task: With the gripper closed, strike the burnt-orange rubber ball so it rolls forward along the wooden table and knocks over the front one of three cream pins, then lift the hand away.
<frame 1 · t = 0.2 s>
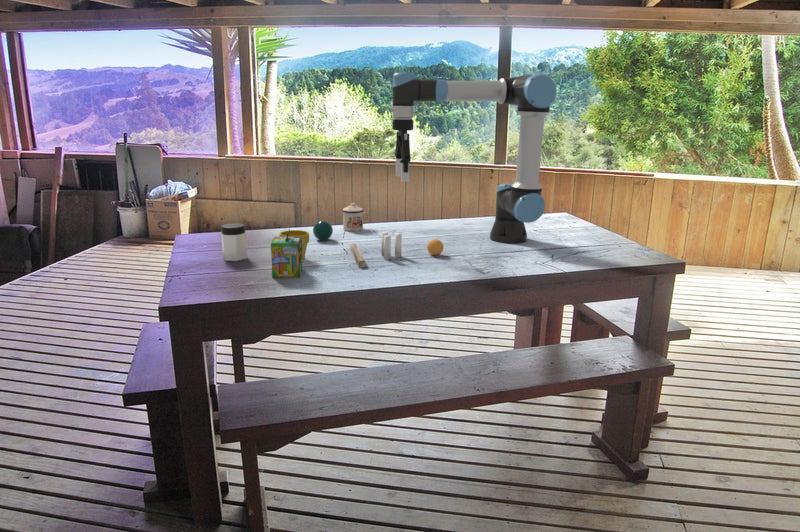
hand: (402, 179, 207), 27 cm above the table, tool pointing down, fingers open, 13 cm apart
pin 1: (384, 255, 210), on the table
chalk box: (287, 274, 186), on the table
plant pot: (295, 260, 203), on the table
ball: (435, 247, 210), on the table
teacup with lid: (356, 229, 251), on the table
jar: (235, 258, 203), on the table
sphere: (323, 240, 231), on the table
back wall: (357, 258, 205), on the table
pin 2: (387, 258, 205), on the table
front pin: (398, 256, 208), on the table
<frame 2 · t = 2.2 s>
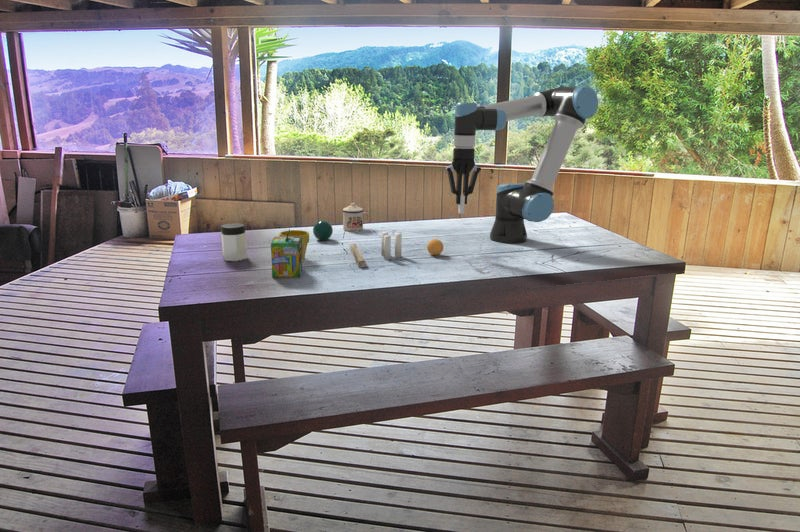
hand: (460, 213, 208), 16 cm above the table, tool pointing down, fingers closed
nothing on the table moved.
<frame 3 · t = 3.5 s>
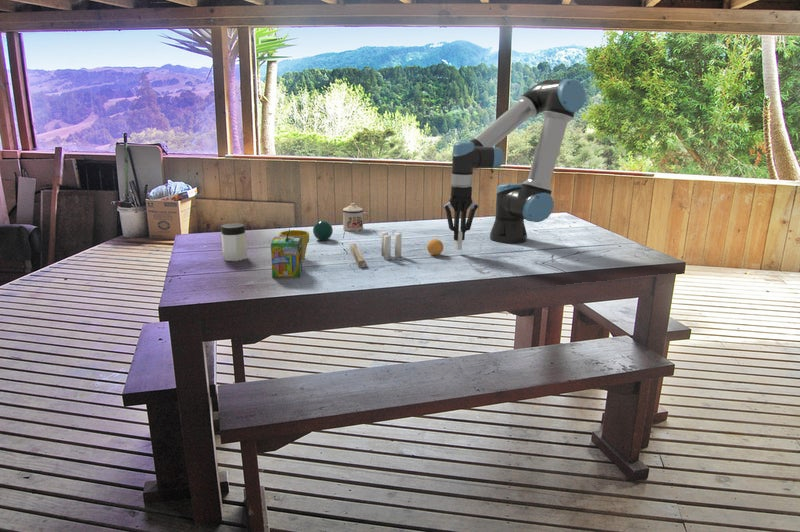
hand: (458, 248, 212), 2 cm above the table, tool pointing down, fingers closed
nothing on the table moved.
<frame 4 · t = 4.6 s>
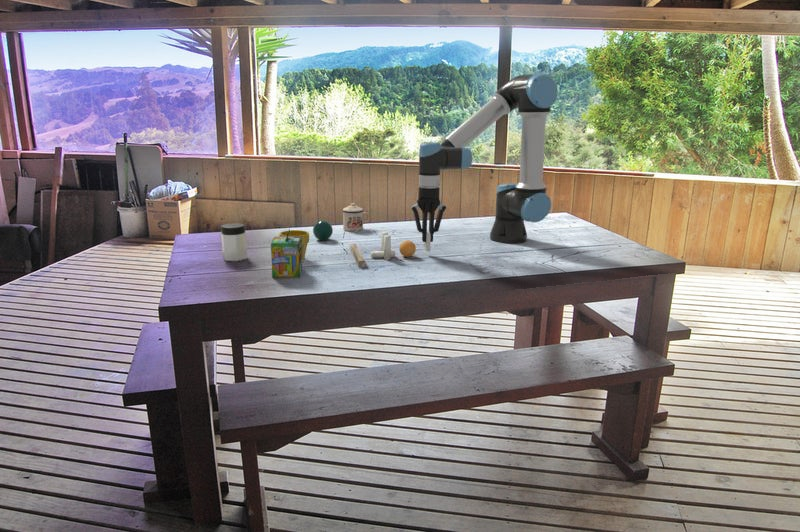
hand: (427, 250, 210), 2 cm above the table, tool pointing down, fingers closed
ball: (407, 248, 208), on the table
front pin: (394, 253, 207), point 1 cm above the table, tilted 90°
everything else where it was.
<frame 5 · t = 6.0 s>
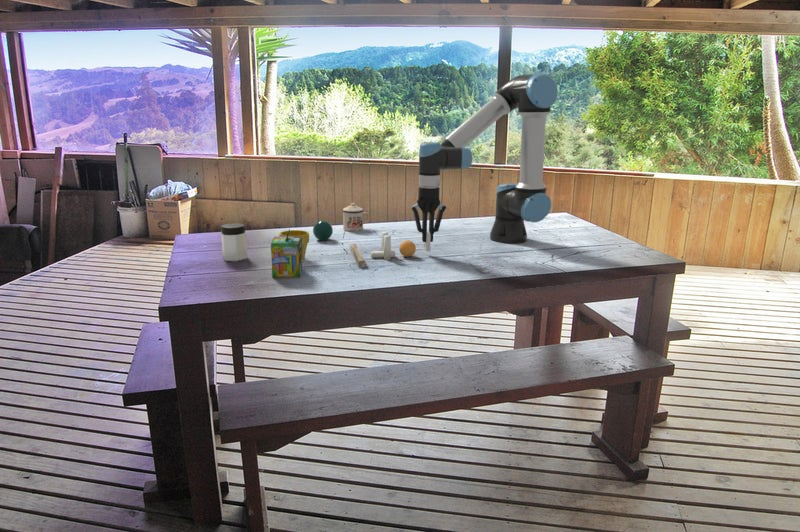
hand: (427, 250, 210), 2 cm above the table, tool pointing down, fingers closed
nothing on the table moved.
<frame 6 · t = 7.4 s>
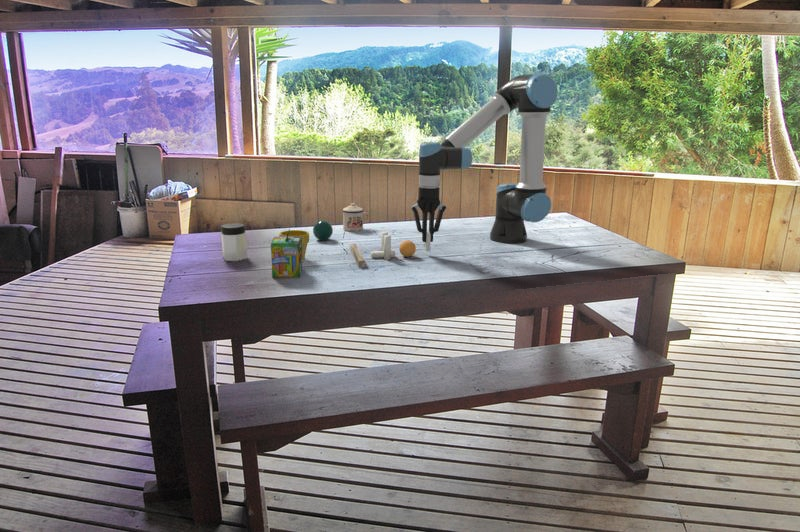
hand: (427, 250, 210), 2 cm above the table, tool pointing down, fingers closed
nothing on the table moved.
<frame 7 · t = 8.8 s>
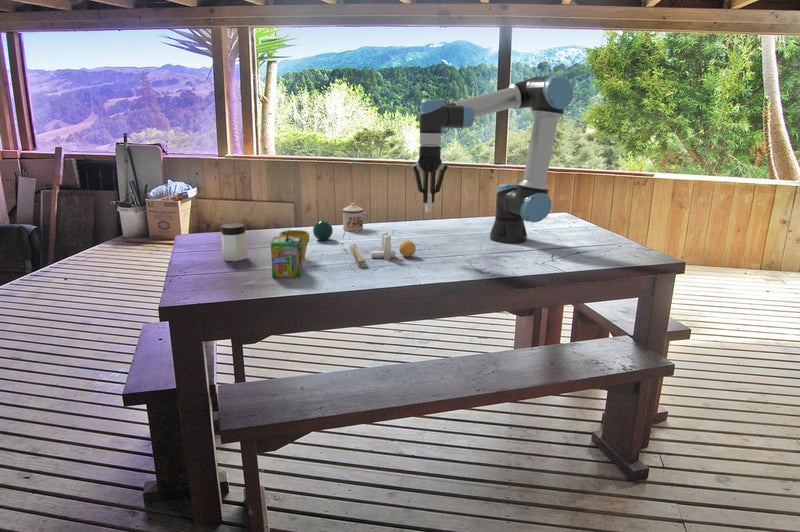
hand: (428, 211, 206), 16 cm above the table, tool pointing down, fingers closed
nothing on the table moved.
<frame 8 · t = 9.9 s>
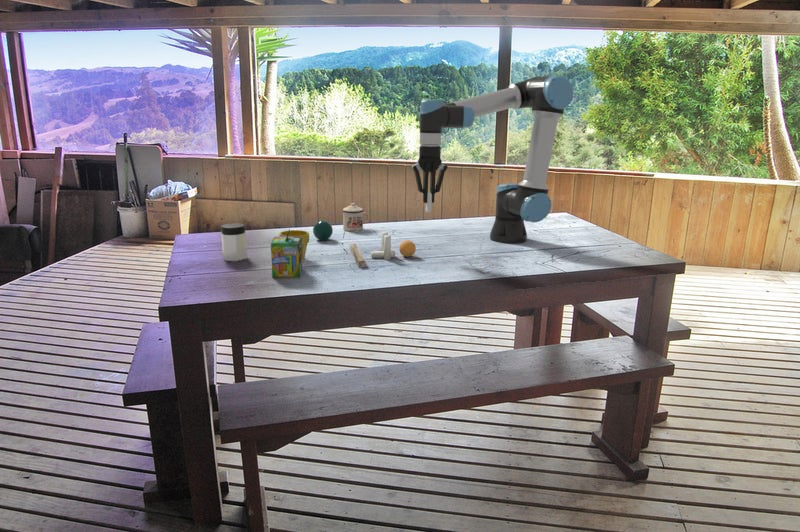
hand: (428, 211, 206), 16 cm above the table, tool pointing down, fingers closed
nothing on the table moved.
at the end: front pin tilted 90°; front pin never touched the robot; ball moved 10.6 cm from its start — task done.
